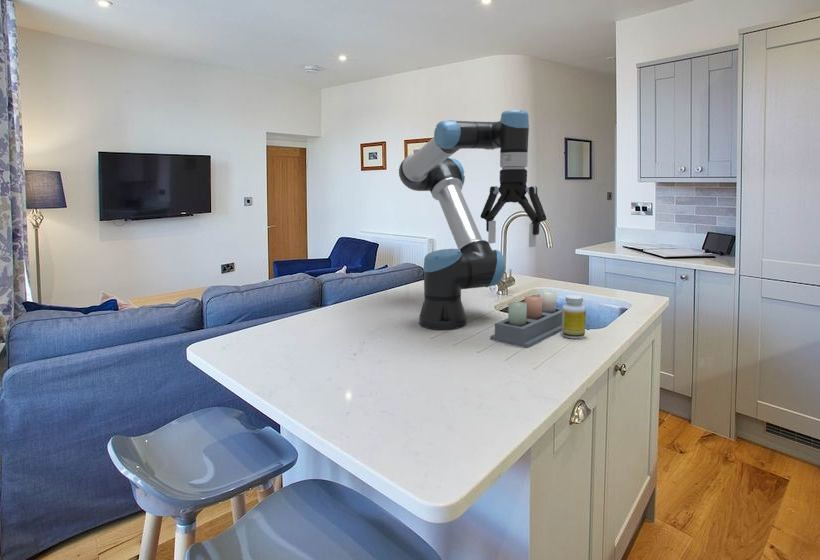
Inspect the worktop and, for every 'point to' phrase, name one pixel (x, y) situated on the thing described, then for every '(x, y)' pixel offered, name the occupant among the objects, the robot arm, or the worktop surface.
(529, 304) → the pink cylinder
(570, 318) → the pill bottle
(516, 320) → the button sage
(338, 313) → the worktop surface
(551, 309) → the button cream
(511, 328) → the button panel
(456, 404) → the worktop surface
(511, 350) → the worktop surface
